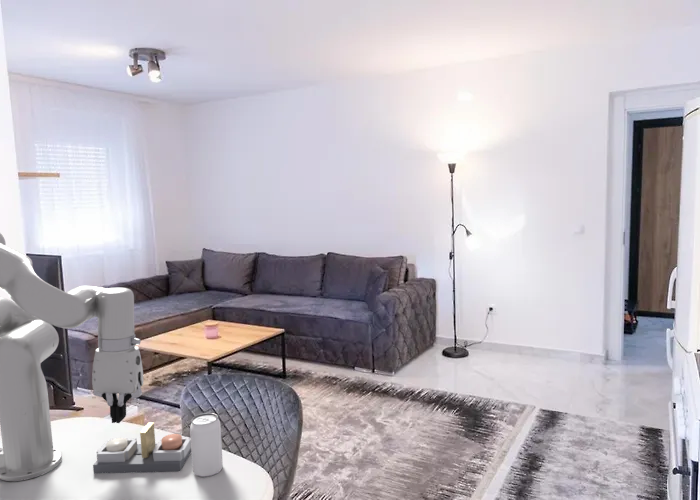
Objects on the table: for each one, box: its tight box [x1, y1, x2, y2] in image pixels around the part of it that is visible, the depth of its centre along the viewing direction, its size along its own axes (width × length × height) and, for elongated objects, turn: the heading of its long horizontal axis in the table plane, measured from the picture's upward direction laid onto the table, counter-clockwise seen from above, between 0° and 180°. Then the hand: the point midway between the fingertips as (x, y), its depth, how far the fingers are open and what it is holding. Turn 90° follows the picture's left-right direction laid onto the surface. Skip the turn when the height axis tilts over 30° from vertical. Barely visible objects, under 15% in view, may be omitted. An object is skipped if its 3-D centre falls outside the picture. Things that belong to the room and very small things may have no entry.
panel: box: [92, 436, 192, 475], centre depth 120 cm, size 20×9×4 cm, turn 90°
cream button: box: [106, 437, 128, 452], centre depth 120 cm, size 4×4×2 cm
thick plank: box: [139, 421, 156, 458], centre depth 120 cm, size 1×5×6 cm, turn 1°
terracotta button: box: [160, 433, 183, 450], centre depth 120 cm, size 4×4×2 cm
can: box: [189, 412, 224, 478], centre depth 116 cm, size 6×6×12 cm
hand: (118, 420), depth 121 cm, fingers closed
